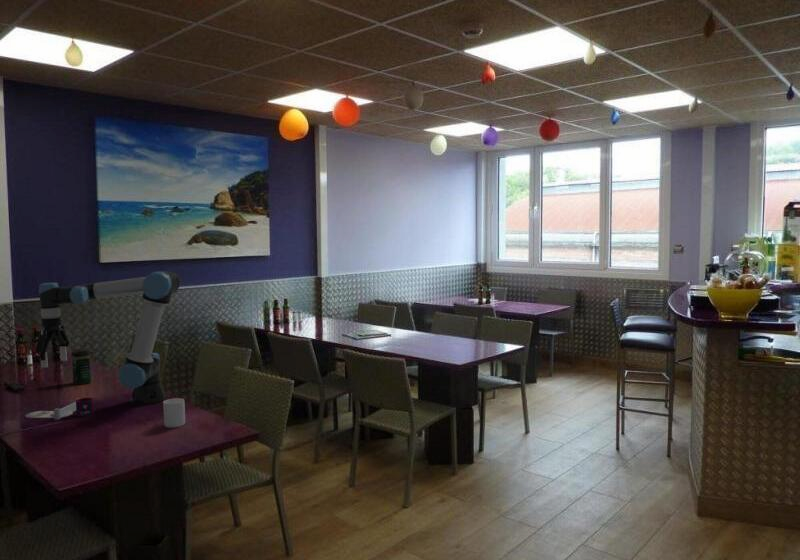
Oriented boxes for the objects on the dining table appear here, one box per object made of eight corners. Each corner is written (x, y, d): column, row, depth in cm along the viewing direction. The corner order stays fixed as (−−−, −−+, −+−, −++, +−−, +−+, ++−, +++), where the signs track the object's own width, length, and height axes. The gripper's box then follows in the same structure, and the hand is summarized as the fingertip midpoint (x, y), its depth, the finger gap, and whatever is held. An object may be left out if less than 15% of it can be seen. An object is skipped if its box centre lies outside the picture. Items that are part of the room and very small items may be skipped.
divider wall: (81, 407, 275) (81, 398, 275) (58, 419, 258) (57, 409, 257) (78, 407, 275) (77, 398, 275) (54, 419, 258) (53, 409, 257)
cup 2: (167, 429, 244) (166, 404, 243) (159, 421, 253) (158, 398, 253) (187, 425, 249) (186, 401, 248) (179, 418, 258) (178, 395, 257)
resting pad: (77, 411, 269) (77, 411, 269) (65, 418, 260) (65, 417, 260) (34, 411, 270) (34, 410, 270) (20, 417, 261) (20, 417, 261)
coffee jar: (93, 383, 321) (91, 349, 319) (77, 385, 315) (75, 351, 314) (86, 380, 327) (85, 346, 326) (71, 382, 322) (69, 348, 320)
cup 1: (76, 417, 260) (76, 402, 259) (75, 412, 269) (74, 397, 268) (94, 415, 263) (93, 400, 263) (92, 409, 272) (91, 395, 271)
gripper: (60, 313, 280) (63, 358, 282) (23, 321, 255) (27, 370, 257) (75, 313, 279) (78, 357, 281) (40, 321, 255) (44, 370, 256)
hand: (54, 363), depth 269 cm, fingers open, 13 cm apart
